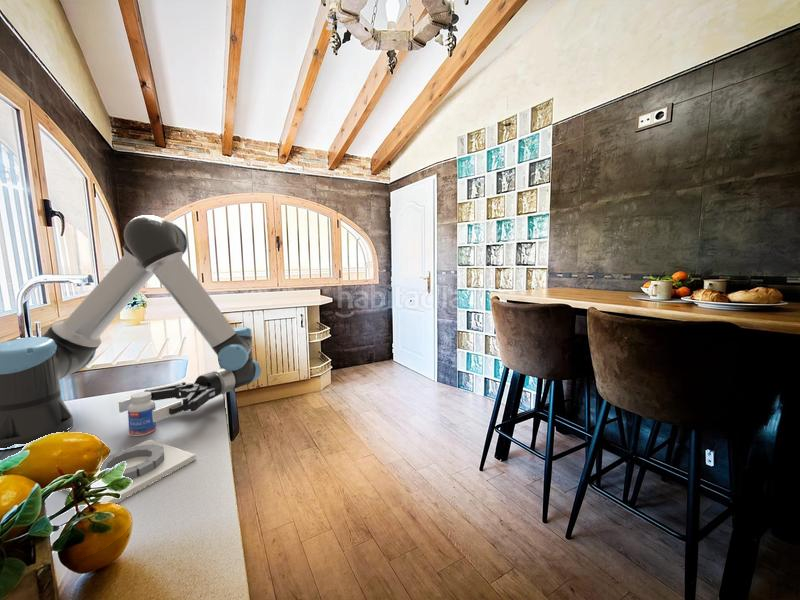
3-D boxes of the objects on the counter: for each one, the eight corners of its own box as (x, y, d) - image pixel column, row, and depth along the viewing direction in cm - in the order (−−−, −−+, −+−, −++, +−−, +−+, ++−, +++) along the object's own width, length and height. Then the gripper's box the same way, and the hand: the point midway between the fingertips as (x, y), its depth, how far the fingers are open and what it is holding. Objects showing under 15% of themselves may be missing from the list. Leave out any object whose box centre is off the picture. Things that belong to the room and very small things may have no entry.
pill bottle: (126, 439, 78) (123, 400, 78) (132, 429, 83) (129, 392, 82) (155, 433, 81) (152, 395, 80) (158, 424, 86) (155, 388, 85)
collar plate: (57, 485, 62) (55, 472, 61) (150, 444, 76) (149, 433, 76) (104, 510, 55) (103, 495, 55) (195, 459, 70) (195, 447, 70)
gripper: (245, 402, 95) (169, 436, 76) (188, 389, 105) (108, 417, 85) (243, 377, 94) (167, 405, 75) (186, 367, 104) (105, 389, 85)
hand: (135, 411), depth 80 cm, fingers open, 13 cm apart
